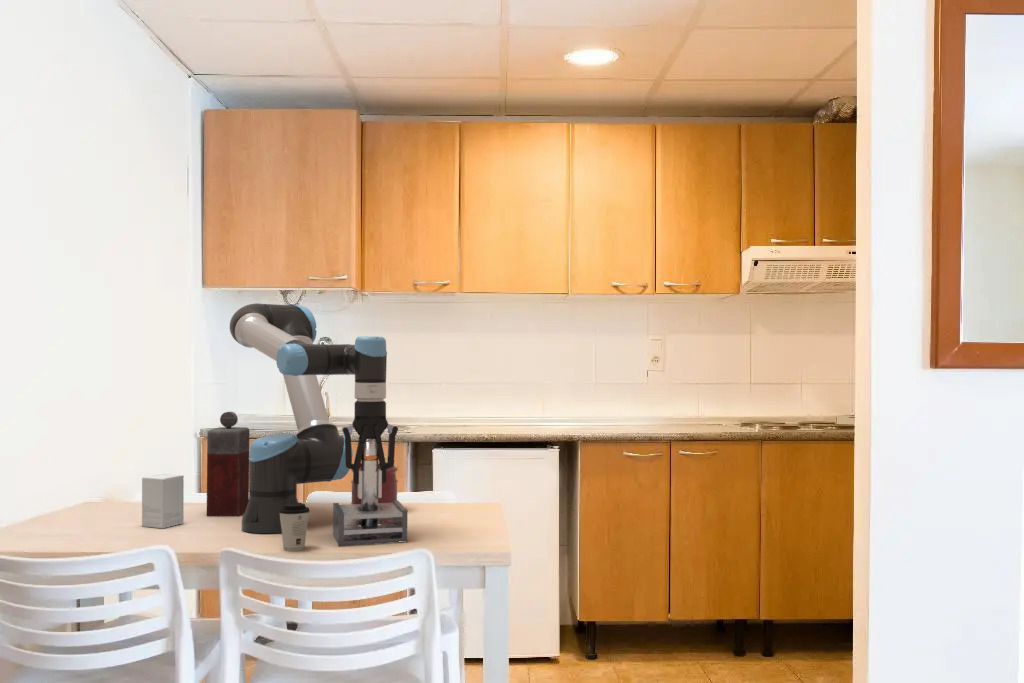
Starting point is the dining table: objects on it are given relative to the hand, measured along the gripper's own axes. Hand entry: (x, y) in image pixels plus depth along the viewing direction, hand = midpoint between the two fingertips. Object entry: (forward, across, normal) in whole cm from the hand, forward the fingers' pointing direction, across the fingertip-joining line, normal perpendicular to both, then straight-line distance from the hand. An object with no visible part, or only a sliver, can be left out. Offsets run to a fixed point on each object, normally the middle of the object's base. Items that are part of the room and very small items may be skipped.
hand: (369, 496), depth 212 cm
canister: (+10, +6, +35) cm, 37 cm away
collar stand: (+10, 0, 0) cm, 10 cm away
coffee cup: (+10, -18, -7) cm, 22 cm away
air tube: (+8, 0, 0) cm, 8 cm away
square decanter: (+10, -33, +43) cm, 55 cm away
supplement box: (+10, -49, +29) cm, 58 cm away
